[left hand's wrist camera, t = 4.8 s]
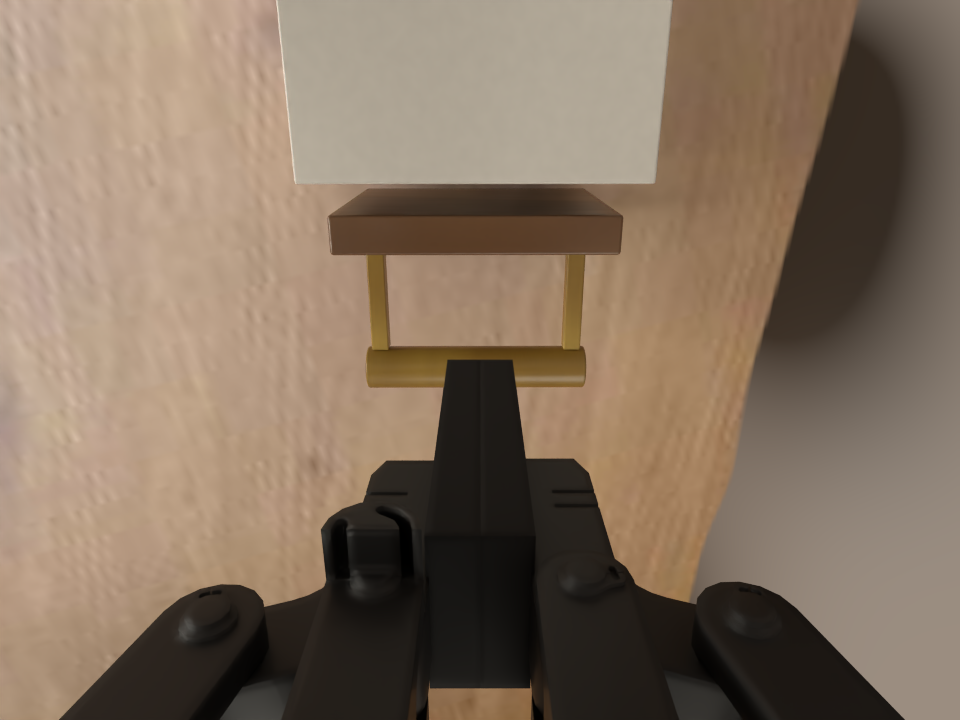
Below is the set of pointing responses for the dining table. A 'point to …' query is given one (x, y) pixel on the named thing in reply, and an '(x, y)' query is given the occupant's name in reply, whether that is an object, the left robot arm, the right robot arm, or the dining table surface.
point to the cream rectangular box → (474, 90)
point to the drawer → (475, 231)
